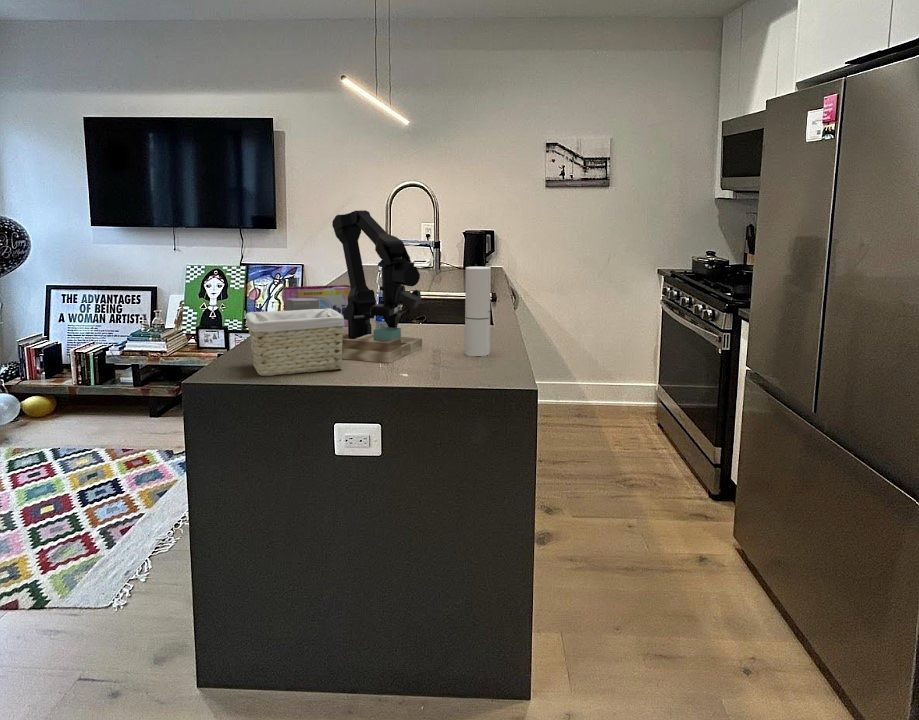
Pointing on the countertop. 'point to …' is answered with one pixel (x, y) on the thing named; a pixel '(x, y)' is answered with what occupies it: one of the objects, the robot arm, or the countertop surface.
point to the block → (387, 333)
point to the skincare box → (301, 304)
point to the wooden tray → (378, 348)
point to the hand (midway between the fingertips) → (393, 334)
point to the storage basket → (295, 341)
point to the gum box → (321, 296)
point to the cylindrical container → (477, 311)
